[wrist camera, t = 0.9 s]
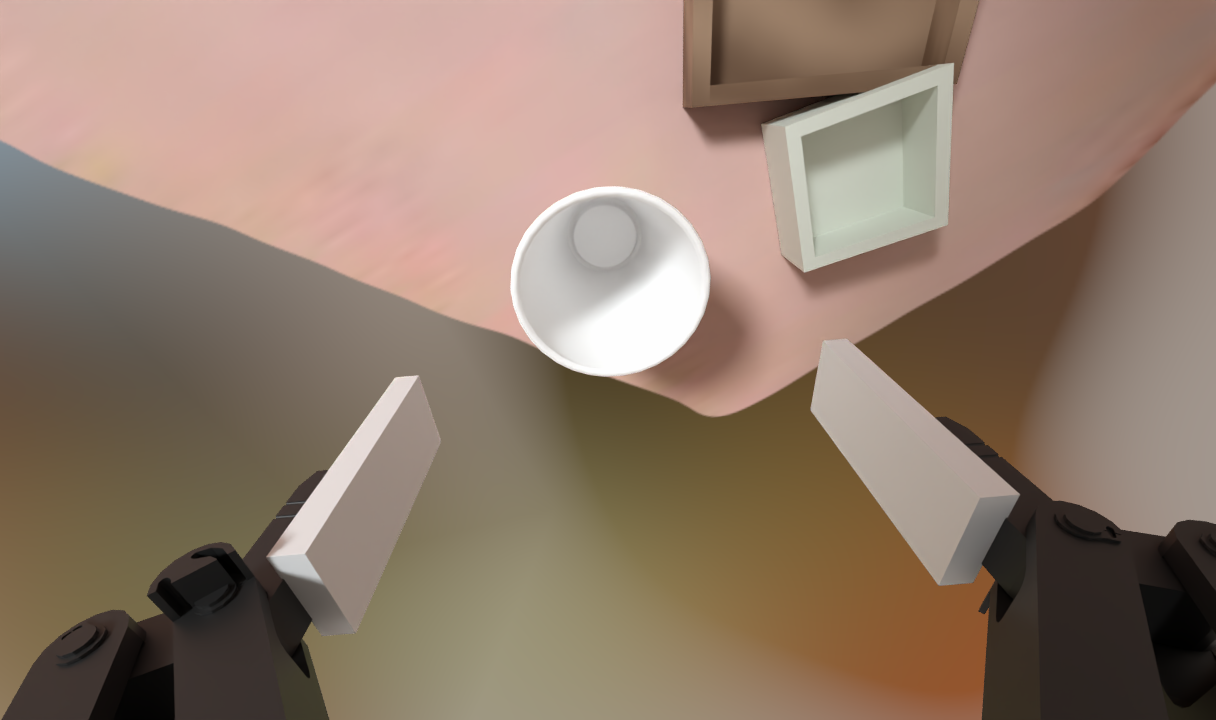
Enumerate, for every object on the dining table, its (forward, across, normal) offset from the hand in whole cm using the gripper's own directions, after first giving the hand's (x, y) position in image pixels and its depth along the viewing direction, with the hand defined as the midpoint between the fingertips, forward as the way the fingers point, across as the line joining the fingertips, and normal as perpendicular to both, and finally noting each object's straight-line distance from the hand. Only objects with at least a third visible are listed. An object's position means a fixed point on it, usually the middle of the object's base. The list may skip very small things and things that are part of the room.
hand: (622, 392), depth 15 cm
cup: (+20, 0, 0) cm, 20 cm away
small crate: (+19, +16, +3) cm, 25 cm away
